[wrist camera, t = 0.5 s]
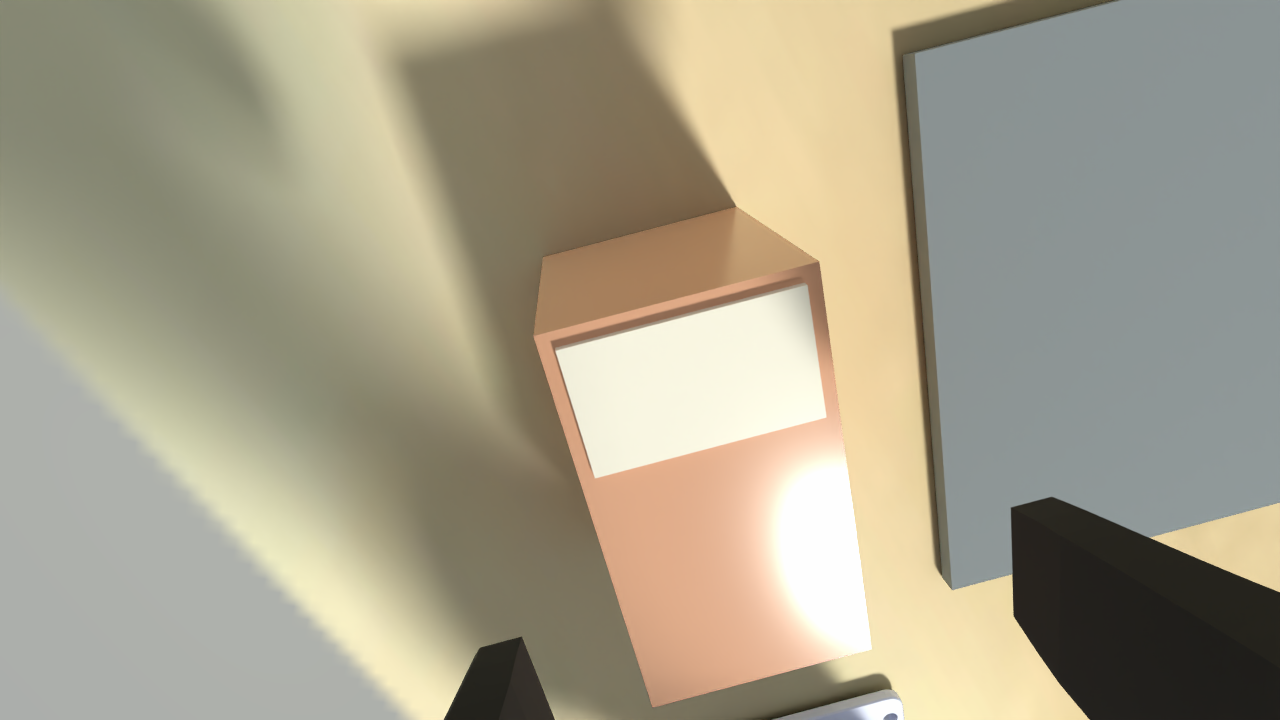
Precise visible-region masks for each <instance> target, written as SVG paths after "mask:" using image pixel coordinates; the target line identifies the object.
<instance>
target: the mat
mask: <svg viewBox="0 0 1280 720" xmlns="http://www.w3.org/2000/svg"><path fill="white" fill-rule="evenodd" d="M903 68H904V81H905V94H906V107H907V120H908V133H909V147H910V160H911V173H912V186H913V199H914V212H915V225H916V238H917V252H918V265H919V278H920V291H921V304H922V317H923V330H924V343H925V357H926V370H927V383H928V396H929V409H930V422H931V435H932V448H933V462H934V475H935V488H936V501H937V514H938V527H939V540H940V553H941V567H942V578H943V579H944V580H945V582H946V583H947V584H948V585H949V587H950V588H951V589H952V590H955V589H958V588H962V587H966V586H969V585H973V584H977V583H981V582H984V581H988V580H992V579H996V578H999V577H1003V576H1007V575H1011V574H1012V538H1011V507H1014V506H1018V505H1022V504H1026V503H1029V502H1033V501H1037V500H1041V499H1045V498H1048V497H1054V498H1057V499H1059V500H1062V501H1064V502H1067V503H1070V504H1072V505H1074V506H1077V507H1079V508H1082V509H1084V510H1086V511H1089V512H1091V513H1093V514H1096V515H1098V516H1100V517H1103V518H1105V519H1107V520H1110V521H1112V522H1114V523H1116V524H1119V525H1121V526H1123V527H1126V528H1128V529H1130V530H1132V531H1135V532H1137V533H1139V534H1142V535H1144V536H1146V537H1153V536H1157V535H1160V534H1164V533H1168V532H1172V531H1175V530H1179V529H1183V528H1186V527H1190V526H1194V525H1198V524H1201V523H1205V522H1209V521H1213V520H1216V519H1220V518H1224V517H1228V516H1231V515H1235V514H1239V513H1243V512H1246V511H1250V510H1254V509H1258V508H1261V507H1265V506H1269V505H1273V504H1276V503H1280V0H1113V1H1109V2H1106V3H1102V4H1098V5H1094V6H1090V7H1086V8H1082V9H1079V10H1075V11H1071V12H1067V13H1063V14H1059V15H1055V16H1051V17H1048V18H1044V19H1040V20H1036V21H1032V22H1028V23H1024V24H1021V25H1017V26H1013V27H1009V28H1005V29H1001V30H997V31H993V32H990V33H986V34H982V35H978V36H974V37H970V38H966V39H963V40H959V41H955V42H951V43H947V44H943V45H939V46H936V47H932V48H928V49H924V50H920V51H916V52H912V53H908V54H905V55H903Z"/></svg>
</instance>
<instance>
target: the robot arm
mask: <svg viewBox="0 0 1280 720" xmlns="http://www.w3.org/2000/svg"><path fill="white" fill-rule="evenodd" d="M1011 538H1012V574H1013V611H1014V617H1015V619H1016V620H1017V622H1018V623H1019V625H1020V627H1021V628H1022V630H1023V631H1024V633H1025V634H1026V636H1027V637H1028V639H1029V640H1030V642H1031V643H1032V645H1033V646H1034V648H1035V649H1036V651H1037V652H1038V654H1039V655H1040V657H1041V658H1042V659H1043V661H1044V662H1045V664H1046V665H1047V667H1048V668H1049V669H1050V671H1051V672H1052V674H1053V675H1054V677H1055V678H1056V679H1057V681H1058V682H1059V684H1060V685H1061V686H1062V687H1063V688H1064V690H1065V691H1066V692H1067V693H1068V694H1069V696H1070V697H1071V698H1072V699H1073V700H1074V702H1075V703H1076V704H1077V705H1078V706H1079V707H1080V709H1081V710H1082V711H1083V712H1084V713H1085V714H1086V716H1087V717H1088V718H1089V719H1090V720H1280V592H1277V591H1275V590H1272V589H1270V588H1267V587H1265V586H1262V585H1260V584H1257V583H1255V582H1252V581H1250V580H1248V579H1245V578H1243V577H1240V576H1238V575H1235V574H1233V573H1231V572H1228V571H1226V570H1223V569H1221V568H1219V567H1216V566H1214V565H1211V564H1209V563H1207V562H1204V561H1202V560H1200V559H1197V558H1195V557H1193V556H1190V555H1188V554H1186V553H1183V552H1181V551H1179V550H1176V549H1174V548H1172V547H1169V546H1167V545H1165V544H1162V543H1160V542H1158V541H1155V540H1153V539H1151V538H1149V537H1146V536H1144V535H1142V534H1139V533H1137V532H1135V531H1132V530H1130V529H1128V528H1126V527H1123V526H1121V525H1119V524H1116V523H1114V522H1112V521H1110V520H1107V519H1105V518H1103V517H1100V516H1098V515H1096V514H1093V513H1091V512H1089V511H1086V510H1084V509H1082V508H1079V507H1077V506H1074V505H1072V504H1070V503H1067V502H1064V501H1062V500H1059V499H1057V498H1054V497H1048V498H1045V499H1041V500H1037V501H1033V502H1029V503H1026V504H1022V505H1018V506H1014V507H1011ZM444 720H555V719H554V717H553V714H552V712H551V709H550V707H549V704H548V702H547V699H546V697H545V694H544V692H543V689H542V687H541V684H540V681H539V679H538V676H537V674H536V671H535V669H534V666H533V664H532V661H531V659H530V656H529V654H528V651H527V649H526V646H525V644H524V641H523V639H522V637H519V638H515V639H512V640H508V641H504V642H500V643H496V644H493V645H489V646H485V647H481V648H480V649H479V650H478V652H477V654H476V655H475V657H474V659H473V661H472V663H471V665H470V667H469V669H468V671H467V673H466V675H465V677H464V680H463V682H462V684H461V686H460V688H459V690H458V692H457V694H456V696H455V698H454V700H453V702H452V704H451V706H450V708H449V710H448V712H447V714H446V716H445V718H444ZM773 720H904V713H903V704H902V701H901V699H900V698H899V696H898V694H897V693H896V692H895V691H894V690H889V689H886V690H881V691H877V692H873V693H870V694H866V695H862V696H858V697H855V698H851V699H847V700H844V701H840V702H836V703H832V704H829V705H825V706H821V707H817V708H814V709H810V710H806V711H803V712H799V713H795V714H791V715H788V716H784V717H780V718H776V719H773Z"/></svg>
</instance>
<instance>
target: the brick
mask: <svg viewBox="0 0 1280 720" xmlns="http://www.w3.org/2000/svg"><path fill="white" fill-rule="evenodd" d="M533 337H534V340H535V343H536V346H537V349H538V352H539V356H540V359H541V362H542V365H543V368H544V371H545V374H546V377H547V380H548V384H549V387H550V390H551V393H552V396H553V399H554V402H555V405H556V409H557V412H558V415H559V418H560V421H561V424H562V427H563V430H564V433H565V437H566V440H567V443H568V446H569V449H570V452H571V455H572V458H573V462H574V465H575V468H576V471H577V474H578V477H579V480H580V483H581V486H582V490H583V493H584V496H585V499H586V502H587V505H588V508H589V511H590V515H591V518H592V521H593V524H594V527H595V530H596V533H597V536H598V539H599V543H600V546H601V549H602V552H603V555H604V558H605V561H606V564H607V568H608V571H609V574H610V577H611V580H612V583H613V586H614V589H615V592H616V596H617V599H618V602H619V605H620V608H621V611H622V614H623V617H624V621H625V624H626V627H627V630H628V633H629V636H630V639H631V642H632V645H633V649H634V652H635V655H636V658H637V661H638V664H639V667H640V670H641V674H642V677H643V680H644V683H645V686H646V689H647V692H648V695H649V698H650V702H651V705H652V708H654V707H658V706H661V705H665V704H669V703H672V702H676V701H680V700H684V699H687V698H691V697H695V696H699V695H702V694H706V693H710V692H714V691H717V690H721V689H725V688H729V687H732V686H736V685H740V684H744V683H747V682H751V681H755V680H759V679H762V678H766V677H770V676H774V675H777V674H781V673H785V672H789V671H792V670H796V669H800V668H804V667H807V666H811V665H815V664H818V663H822V662H826V661H830V660H833V659H837V658H841V657H845V656H848V655H852V654H856V653H860V652H863V651H867V650H871V649H872V648H871V640H870V633H869V625H868V618H867V611H866V603H865V596H864V589H863V581H862V574H861V566H860V559H859V552H858V544H857V537H856V530H855V522H854V515H853V507H852V500H851V493H850V485H849V478H848V471H847V463H846V456H845V448H844V441H843V434H842V426H841V419H840V412H839V404H838V397H837V389H836V382H835V375H834V367H833V360H832V352H831V345H830V338H829V330H828V323H827V316H826V308H825V301H824V293H823V286H822V279H821V271H820V264H819V261H818V260H816V259H815V258H813V257H812V256H810V255H809V254H807V253H806V252H804V251H803V250H801V249H800V248H798V247H797V246H795V245H794V244H792V243H791V242H789V241H788V240H786V239H785V238H783V237H782V236H780V235H779V234H777V233H776V232H774V231H772V230H771V229H769V228H768V227H766V226H765V225H763V224H762V223H760V222H759V221H757V220H756V219H754V218H753V217H751V216H750V215H748V214H747V213H745V212H744V211H742V210H741V209H739V208H738V207H733V208H729V209H725V210H722V211H718V212H714V213H710V214H706V215H702V216H699V217H695V218H691V219H687V220H683V221H679V222H675V223H672V224H668V225H664V226H660V227H656V228H652V229H649V230H645V231H641V232H637V233H633V234H629V235H626V236H622V237H618V238H614V239H610V240H606V241H603V242H599V243H595V244H591V245H587V246H583V247H579V248H576V249H572V250H568V251H564V252H560V253H556V254H553V255H549V256H545V257H543V260H542V269H541V277H540V285H539V293H538V301H537V310H536V318H535V326H534V334H533Z"/></svg>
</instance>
